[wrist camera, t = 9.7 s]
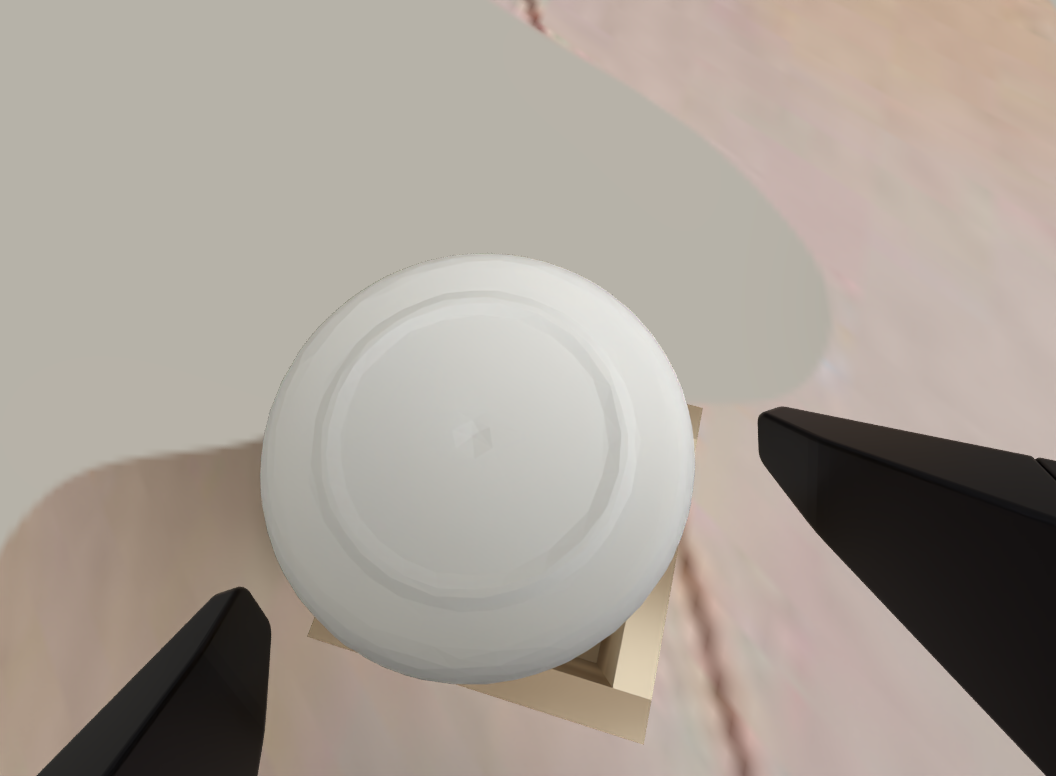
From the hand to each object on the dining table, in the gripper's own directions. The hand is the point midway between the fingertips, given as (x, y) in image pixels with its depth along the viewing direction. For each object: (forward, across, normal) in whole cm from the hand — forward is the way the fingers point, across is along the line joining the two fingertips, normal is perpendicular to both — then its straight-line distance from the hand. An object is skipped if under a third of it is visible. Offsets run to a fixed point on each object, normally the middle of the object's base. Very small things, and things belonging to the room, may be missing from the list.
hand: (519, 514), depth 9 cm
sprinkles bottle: (+7, 0, +6) cm, 10 cm away
